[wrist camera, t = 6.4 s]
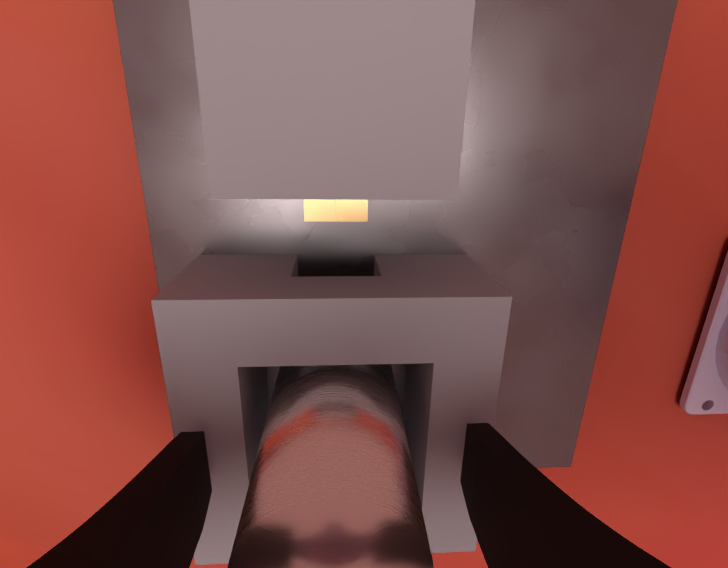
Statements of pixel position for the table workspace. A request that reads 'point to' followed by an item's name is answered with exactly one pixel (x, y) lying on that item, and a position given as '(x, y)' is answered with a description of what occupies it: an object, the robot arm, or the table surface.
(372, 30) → the pin guide
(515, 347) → the base plate
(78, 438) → the table surface
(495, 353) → the socket
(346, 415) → the peg
